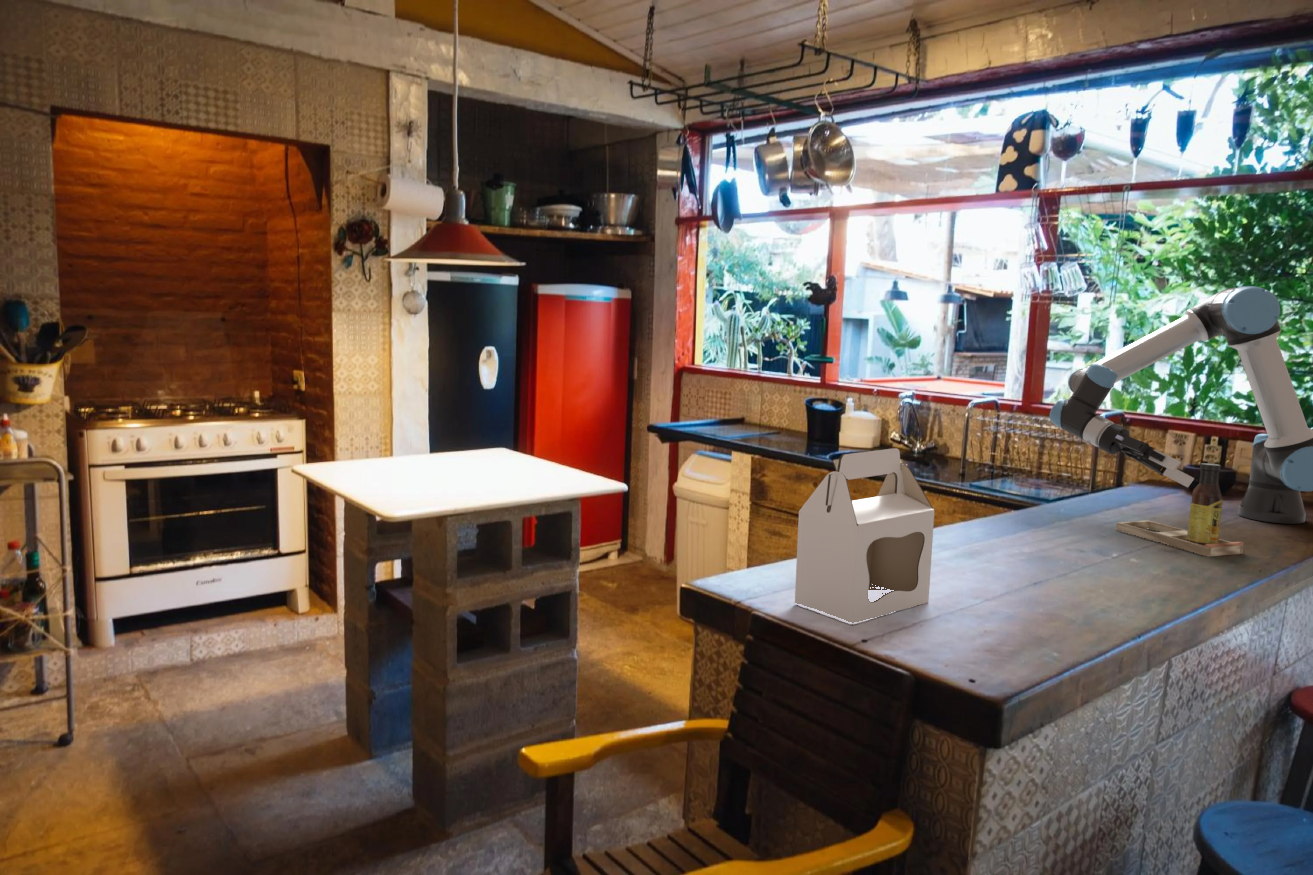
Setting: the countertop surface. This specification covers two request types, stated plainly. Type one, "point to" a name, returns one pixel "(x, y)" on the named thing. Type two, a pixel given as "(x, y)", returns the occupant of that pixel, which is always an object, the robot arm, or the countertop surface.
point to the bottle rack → (1178, 538)
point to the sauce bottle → (1206, 507)
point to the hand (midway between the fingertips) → (1184, 475)
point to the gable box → (865, 540)
